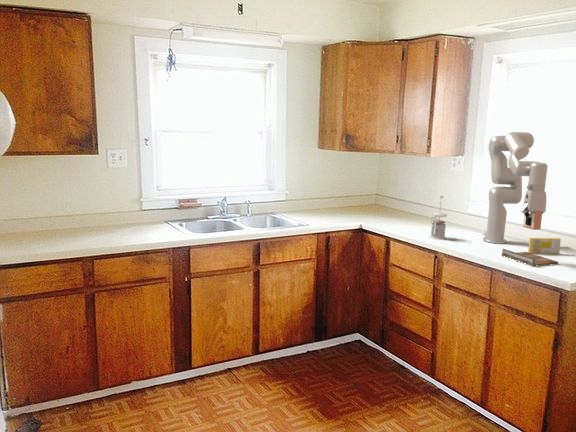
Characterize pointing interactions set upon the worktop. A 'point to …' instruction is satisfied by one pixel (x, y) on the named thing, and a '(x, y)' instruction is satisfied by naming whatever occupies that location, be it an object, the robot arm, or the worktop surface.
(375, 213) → the worktop surface
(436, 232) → the french press
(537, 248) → the candy box
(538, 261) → the shelf board
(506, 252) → the rail
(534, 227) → the tea box
